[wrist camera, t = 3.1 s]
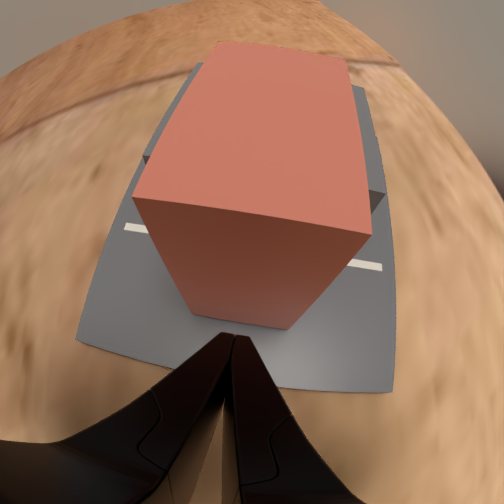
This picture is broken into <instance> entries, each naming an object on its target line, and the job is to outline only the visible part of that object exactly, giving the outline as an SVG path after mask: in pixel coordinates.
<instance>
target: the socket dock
mask: <svg viewBox="0 0 504 504" xmlns="http://www.w3.org/2000/svg"><path fill="white" fill-rule="evenodd" d="M202 65H203V63H197V65H196V66H195V68H194V69H193V71H192V72H191V74H190V75H189V77H188V78H187V80H186V81H185V83H184V84H183V86H182V87H181V89H180V90H179V92H178V94H177V95H176V97H175V98H174V100H173V102H172V103H171V105H170V107H169V108H168V110H167V112H166V113H165V115H164V117H163V119H162V120H161V122H160V124H159V126H158V127H157V129H156V131H155V133H154V135H153V136H152V138H151V140H150V142H149V144H148V146H147V148H146V149H145V151H144V153H143V155H142V156H143V158H142V160H141V162H140V164H139V166H138V168H137V170H136V172H135V174H134V176H133V178H132V180H131V183H130V185H129V187H128V189H127V191H126V194H125V196H124V198H123V200H122V203H121V205H120V207H119V210H118V212H117V214H116V217H115V219H114V222H113V224H112V227H111V229H110V232H109V234H108V237H107V239H106V242H105V245H104V247H103V250H102V253H101V256H100V258H99V261H98V264H97V267H96V270H95V273H94V276H93V279H92V282H91V285H90V288H89V292H88V295H87V298H86V302H85V305H84V309H83V312H82V316H81V319H80V323H79V327H78V331H77V335H76V339H75V340H78V341H81V342H83V343H86V344H89V345H92V346H95V347H98V348H101V349H104V350H107V351H110V352H114V353H117V354H120V355H123V356H127V357H130V358H134V359H137V360H141V361H145V362H148V363H152V364H156V365H160V366H164V367H168V368H172V369H176V368H177V367H178V366H179V365H181V364H182V363H183V362H184V361H186V360H187V359H188V358H189V357H191V356H192V355H193V354H194V353H196V352H197V351H198V350H199V349H201V348H202V347H203V346H204V345H205V344H207V343H208V342H209V341H210V340H211V339H213V338H214V337H215V336H216V335H218V334H219V333H220V332H227V333H233V334H234V335H235V336H236V335H237V334H239V335H245V336H249V337H250V338H251V340H252V341H253V343H254V345H255V347H256V349H257V351H258V353H259V355H260V357H261V358H262V360H263V362H264V364H265V366H266V368H267V370H268V371H269V373H270V375H271V377H272V379H273V381H274V382H275V384H276V386H277V387H284V388H293V389H304V390H317V391H333V392H362V393H389V392H393V381H394V367H395V348H396V283H395V264H394V249H393V238H392V228H391V219H390V210H389V203H388V196H387V189H386V182H385V176H384V170H383V165H382V159H381V154H380V149H379V144H378V140H377V137H376V136H375V131H374V127H373V122H372V118H371V114H370V110H369V106H368V102H367V98H366V95H365V91H364V88H362V87H358V86H354V85H351V86H352V90H353V95H354V100H355V105H356V110H357V115H358V120H359V126H360V132H361V138H362V144H363V151H364V157H365V165H366V173H367V181H368V190H369V200H370V211H371V224H372V236H371V237H370V238H369V239H368V241H367V242H366V243H365V244H364V245H363V247H362V248H361V249H360V250H359V251H358V253H357V254H356V255H355V256H354V257H353V259H352V260H351V261H350V262H349V263H348V265H347V266H346V267H345V268H344V269H343V270H342V271H341V273H340V274H339V275H338V276H337V277H336V278H335V280H334V281H333V282H332V283H331V284H330V285H329V286H328V287H327V289H326V290H325V291H324V292H323V293H322V294H321V295H320V296H319V298H318V299H317V300H316V301H315V302H314V303H313V304H312V305H311V306H310V307H309V308H308V310H307V311H306V312H305V313H304V314H303V315H302V316H301V317H300V318H299V319H298V320H297V321H296V322H295V323H294V324H293V325H292V327H291V328H290V329H289V330H286V329H279V328H272V327H265V326H258V325H252V324H246V323H240V322H234V321H228V320H222V319H216V318H211V317H205V316H200V315H195V314H192V313H191V311H190V310H189V308H188V306H187V304H186V302H185V301H184V299H183V297H182V295H181V294H180V292H179V290H178V288H177V286H176V285H175V283H174V281H173V279H172V277H171V275H170V273H169V272H168V270H167V268H166V266H165V264H164V262H163V260H162V258H161V256H160V254H159V252H158V251H157V249H156V247H155V245H154V243H153V241H152V239H151V237H150V235H149V233H148V231H147V229H146V227H145V224H144V222H143V220H142V218H141V216H140V214H139V212H138V210H137V208H136V206H135V203H134V201H133V199H132V194H133V192H134V190H135V188H136V185H137V183H138V181H139V179H140V177H141V174H142V172H143V170H144V168H145V166H146V164H147V162H148V160H149V158H150V156H151V154H152V152H153V150H154V148H155V146H156V144H157V142H158V140H159V138H160V136H161V134H162V132H163V130H164V129H165V127H166V125H167V123H168V121H169V119H170V118H171V116H172V114H173V112H174V110H175V109H176V107H177V105H178V103H179V102H180V100H181V98H182V97H183V95H184V93H185V92H186V90H187V88H188V87H189V85H190V84H191V82H192V80H193V79H194V77H195V76H196V74H197V72H198V71H199V69H200V68H201V66H202Z"/></svg>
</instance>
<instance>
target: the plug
mask: <svg viewBox="0 0 504 504" xmlns="http://www.w3.org/2000/svg"><path fill="white" fill-rule="evenodd" d="M132 199H133V201H134V203H135V206H136V208H137V210H138V212H139V214H140V216H141V218H142V220H143V222H144V224H145V227H146V229H147V231H148V233H149V235H150V237H151V239H152V241H153V243H154V245H155V247H156V249H157V251H158V252H159V254H160V256H161V258H162V260H163V262H164V264H165V266H166V268H167V270H168V272H169V273H170V275H171V277H172V279H173V281H174V283H175V285H176V286H177V288H178V290H179V292H180V294H181V295H182V297H183V299H184V301H185V302H186V304H187V306H188V308H189V310H190V311H191V313H192V314H195V315H200V316H205V317H211V318H216V319H222V320H228V321H234V322H240V323H246V324H252V325H258V326H265V327H272V328H279V329H286V330H289V329H290V328H291V327H292V325H293V324H294V323H295V322H296V321H297V320H298V319H299V318H300V317H301V316H302V315H303V314H304V313H305V312H306V311H307V310H308V308H309V307H310V306H311V305H312V304H313V303H314V302H315V301H316V300H317V299H318V298H319V296H320V295H321V294H322V293H323V292H324V291H325V290H326V289H327V287H328V286H329V285H330V284H331V283H332V282H333V281H334V280H335V278H336V277H337V276H338V275H339V274H340V273H341V271H342V270H343V269H344V268H345V267H346V266H347V265H348V263H349V262H350V261H351V260H352V259H353V257H354V256H355V255H356V254H357V253H358V251H359V250H360V249H361V248H362V247H363V245H364V244H365V243H366V242H367V241H368V239H369V238H370V237H371V236H372V224H371V211H370V200H369V190H368V181H367V173H366V165H365V157H364V151H363V144H362V138H361V132H360V126H359V120H358V115H357V110H356V105H355V100H354V95H353V90H352V86H351V81H350V77H349V73H348V69H347V65H346V61H345V60H342V59H338V58H334V57H330V56H326V55H321V54H316V53H311V52H306V51H301V50H295V49H289V48H283V47H276V46H268V45H260V44H250V43H238V42H222V41H218V43H217V44H216V46H215V47H214V48H213V50H212V51H211V53H210V54H209V56H208V57H207V59H206V60H205V62H204V63H203V65H202V66H201V68H200V69H199V71H198V72H197V74H196V76H195V77H194V79H193V80H192V82H191V84H190V85H189V87H188V88H187V90H186V92H185V93H184V95H183V97H182V98H181V100H180V102H179V103H178V105H177V107H176V109H175V110H174V112H173V114H172V116H171V118H170V119H169V121H168V123H167V125H166V127H165V129H164V130H163V132H162V134H161V136H160V138H159V140H158V142H157V144H156V146H155V148H154V150H153V152H152V154H151V156H150V158H149V160H148V162H147V164H146V166H145V168H144V170H143V172H142V174H141V177H140V179H139V181H138V183H137V185H136V188H135V190H134V192H133V194H132Z"/></svg>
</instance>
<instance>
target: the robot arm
mask: <svg viewBox="0 0 504 504" xmlns="http://www.w3.org/2000/svg"><path fill="white" fill-rule="evenodd" d="M224 399H225V400H224ZM223 403H224V410H223V443H222V504H366V503H364V502H363V501H361V500H360V499H358V498H357V497H356V496H355V495H354V494H353V493H351V491H350V490H349V489H348V488H347V487H346V486H345V485H344V484H343V483H342V481H341V480H340V479H339V478H338V477H337V476H336V474H335V473H334V472H333V471H332V470H331V468H330V467H329V466H328V465H327V464H326V462H325V461H324V460H323V459H322V458H321V456H320V455H319V454H318V453H317V451H316V450H315V449H314V447H313V446H312V445H311V443H310V442H309V441H308V439H307V438H306V436H305V434H304V433H303V431H302V430H301V428H300V427H299V425H298V423H297V421H296V420H295V418H294V416H293V415H292V413H291V411H290V409H289V407H288V406H287V404H286V402H285V400H284V399H283V397H282V395H281V393H280V391H279V390H278V388H277V386H276V384H275V382H274V381H273V379H272V377H271V375H270V373H269V371H268V370H267V368H266V366H265V364H264V362H263V360H262V358H261V357H260V355H259V353H258V351H257V349H256V347H255V345H254V343H253V341H252V340H251V338H250V337H249V336H245V335H239V334H237V335H236V336H235V335H234V334H233V333H227V332H220V333H219V334H218V335H216V336H215V337H214V338H213V339H211V340H210V341H209V342H208V343H207V344H205V345H204V346H203V347H202V348H201V349H199V350H198V351H197V352H196V353H194V354H193V355H192V356H191V357H189V358H188V359H187V360H186V361H184V362H183V363H182V364H181V365H179V366H178V367H177V368H176V369H174V370H173V371H172V372H171V373H169V374H168V375H167V376H166V377H164V378H163V379H162V380H161V381H159V382H158V383H157V384H155V385H154V386H153V387H152V388H150V390H147V391H146V392H145V393H144V394H142V395H141V396H140V397H138V398H137V399H135V400H134V401H133V402H131V403H130V404H128V405H127V406H126V407H124V408H122V409H121V410H119V411H117V412H116V413H114V414H112V415H111V416H109V417H107V418H105V419H103V420H101V421H100V422H98V423H96V424H94V425H92V426H90V427H88V428H86V429H85V430H83V431H81V432H79V433H77V434H75V435H73V436H71V437H69V438H66V439H64V440H61V441H57V442H53V443H26V442H14V441H5V440H0V504H189V502H190V499H191V496H192V494H193V491H194V488H195V485H196V482H197V480H198V477H199V474H200V471H201V468H202V466H203V463H204V460H205V457H206V454H207V451H208V448H209V445H210V443H211V440H212V437H213V434H214V431H215V428H216V425H217V422H218V419H219V416H220V413H221V410H222V407H223Z"/></svg>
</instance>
